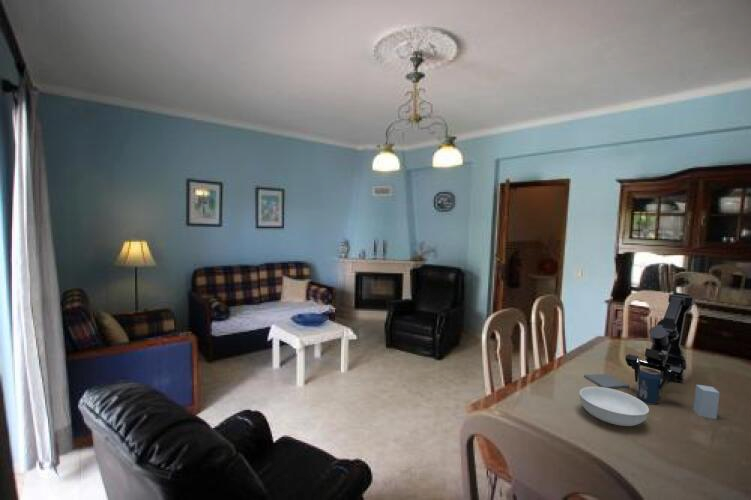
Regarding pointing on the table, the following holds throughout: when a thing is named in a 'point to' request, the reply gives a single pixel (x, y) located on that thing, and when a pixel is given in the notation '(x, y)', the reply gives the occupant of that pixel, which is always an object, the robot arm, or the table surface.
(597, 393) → the serving bowl
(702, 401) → the gray block
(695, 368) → the table surface
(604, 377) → the mat
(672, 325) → the robot arm
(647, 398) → the soda can
